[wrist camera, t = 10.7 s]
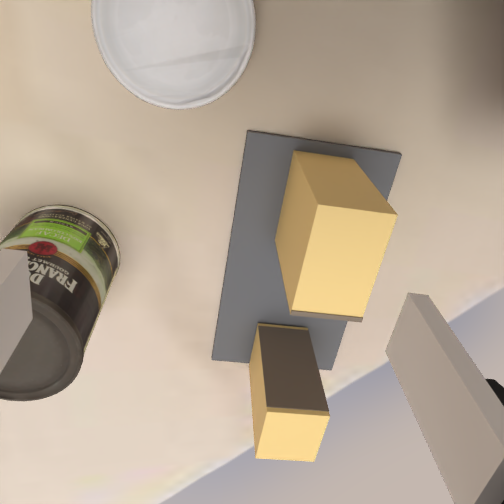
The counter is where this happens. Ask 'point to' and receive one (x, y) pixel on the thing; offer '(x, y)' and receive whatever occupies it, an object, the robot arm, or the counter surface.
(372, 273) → the tall yellow box
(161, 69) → the ramekin
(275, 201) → the mat
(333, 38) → the counter surface
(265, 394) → the stub
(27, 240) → the coffee can
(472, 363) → the robot arm
